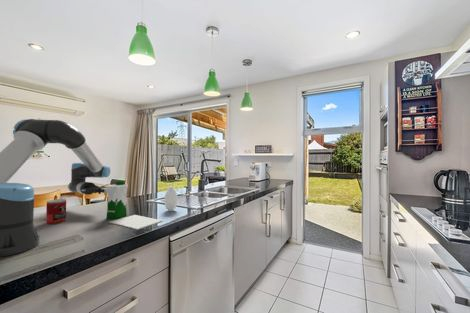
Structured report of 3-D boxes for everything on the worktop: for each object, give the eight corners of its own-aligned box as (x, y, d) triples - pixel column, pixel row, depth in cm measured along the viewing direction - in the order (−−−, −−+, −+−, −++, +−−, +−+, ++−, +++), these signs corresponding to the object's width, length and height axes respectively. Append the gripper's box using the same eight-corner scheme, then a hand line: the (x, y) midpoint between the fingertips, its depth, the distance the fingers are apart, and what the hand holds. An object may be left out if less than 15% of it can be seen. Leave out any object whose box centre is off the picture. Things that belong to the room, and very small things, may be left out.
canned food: (54, 224, 103) (55, 202, 103) (41, 223, 104) (42, 201, 105) (69, 220, 110) (70, 199, 110) (57, 219, 112) (58, 198, 112)
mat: (162, 221, 110) (162, 220, 110) (137, 229, 97) (137, 228, 97) (135, 215, 120) (135, 214, 120) (109, 222, 107) (109, 221, 107)
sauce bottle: (173, 212, 128) (174, 183, 128) (162, 212, 129) (162, 182, 130) (179, 209, 136) (179, 181, 136) (168, 209, 137) (168, 181, 137)
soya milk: (129, 215, 120) (129, 180, 120) (116, 220, 111) (117, 182, 111) (116, 214, 122) (116, 180, 122) (103, 219, 113) (103, 182, 113)
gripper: (97, 192, 138) (119, 196, 126) (74, 195, 126) (97, 199, 115) (97, 181, 138) (120, 183, 127) (74, 183, 126) (97, 185, 115)
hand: (109, 191), depth 121 cm, fingers closed
